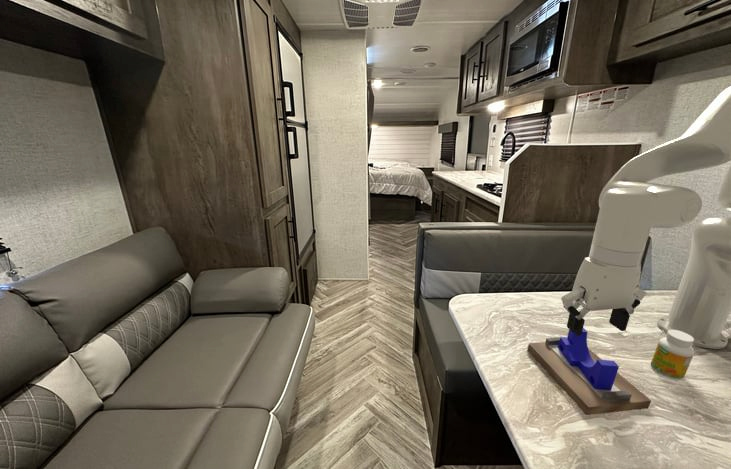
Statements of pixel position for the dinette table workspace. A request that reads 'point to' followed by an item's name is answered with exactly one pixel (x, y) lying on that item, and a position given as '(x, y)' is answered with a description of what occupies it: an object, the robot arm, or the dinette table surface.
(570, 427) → the dinette table surface
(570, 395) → the rail board
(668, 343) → the supplement bottle
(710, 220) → the robot arm
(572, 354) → the blue curved piece
